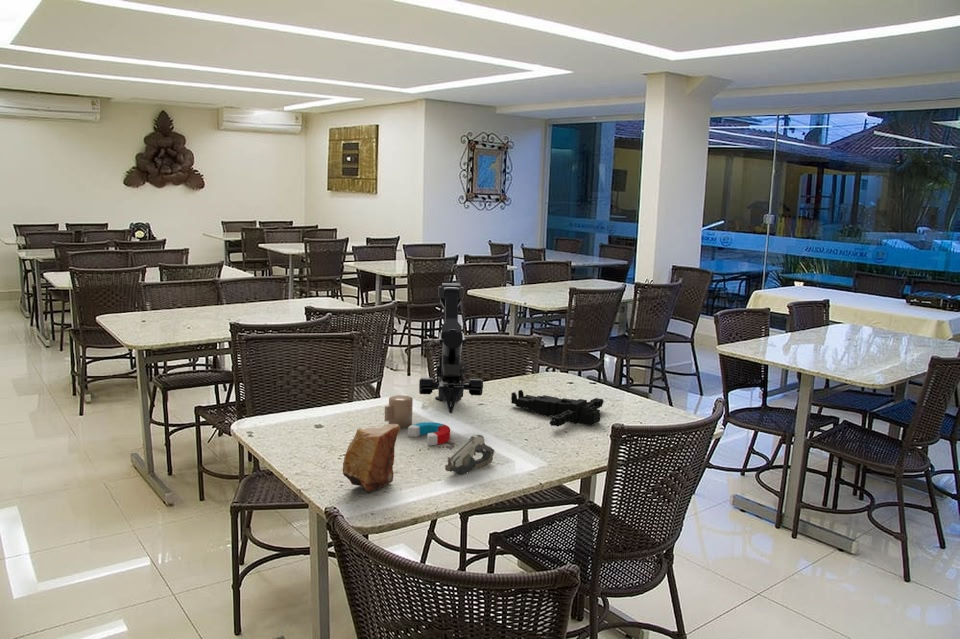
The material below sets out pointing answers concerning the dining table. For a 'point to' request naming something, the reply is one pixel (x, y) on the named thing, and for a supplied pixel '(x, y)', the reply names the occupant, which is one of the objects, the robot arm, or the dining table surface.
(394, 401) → the cup
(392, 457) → the stone
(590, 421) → the toy
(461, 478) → the dining table surface
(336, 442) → the dining table surface
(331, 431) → the dining table surface
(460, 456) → the futuristic pistol
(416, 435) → the magnet
